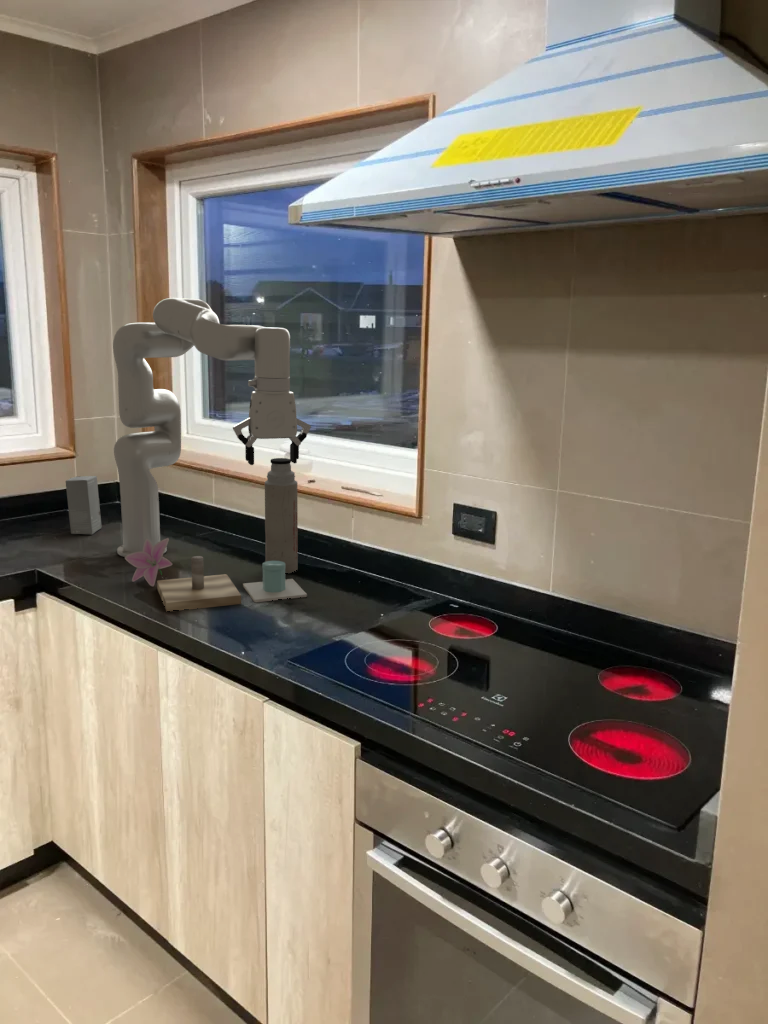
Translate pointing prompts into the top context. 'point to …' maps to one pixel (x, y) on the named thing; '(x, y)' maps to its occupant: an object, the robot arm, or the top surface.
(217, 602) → the post block
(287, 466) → the thermos bottle
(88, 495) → the skincare box
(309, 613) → the top surface
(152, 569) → the lily
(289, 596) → the grey mat
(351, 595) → the top surface
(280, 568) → the cap
